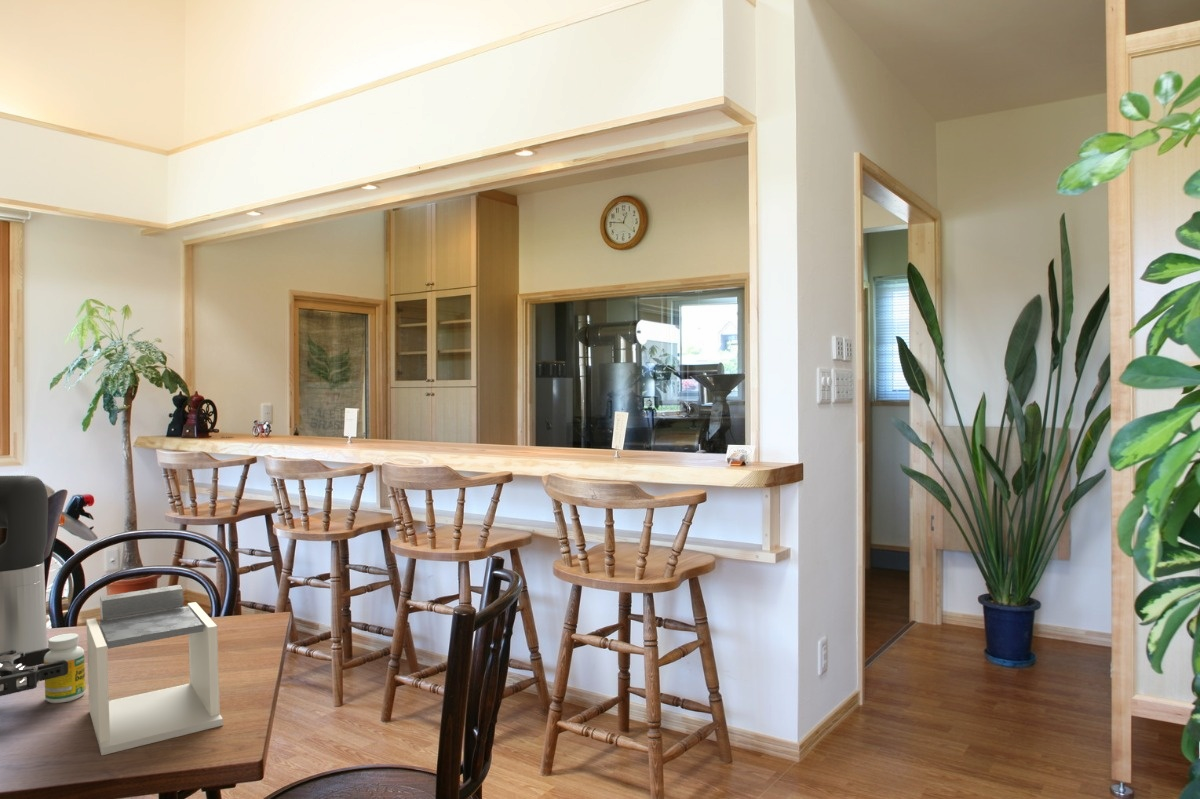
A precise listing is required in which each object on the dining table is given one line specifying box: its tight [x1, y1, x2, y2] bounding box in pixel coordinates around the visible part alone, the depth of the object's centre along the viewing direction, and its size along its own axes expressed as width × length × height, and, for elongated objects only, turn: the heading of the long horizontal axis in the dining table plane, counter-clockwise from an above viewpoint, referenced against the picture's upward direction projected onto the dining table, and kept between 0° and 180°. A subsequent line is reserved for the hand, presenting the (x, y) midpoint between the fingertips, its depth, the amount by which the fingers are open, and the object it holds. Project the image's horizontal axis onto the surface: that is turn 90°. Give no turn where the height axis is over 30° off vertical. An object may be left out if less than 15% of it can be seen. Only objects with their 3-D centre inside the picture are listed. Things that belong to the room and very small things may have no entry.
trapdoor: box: [98, 584, 203, 650], centre depth 122 cm, size 16×12×4 cm
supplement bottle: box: [44, 632, 86, 704], centre depth 129 cm, size 5×5×10 cm
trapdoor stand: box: [85, 601, 224, 756], centre depth 120 cm, size 18×15×14 cm
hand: (60, 660), depth 128 cm, fingers open, 8 cm apart
